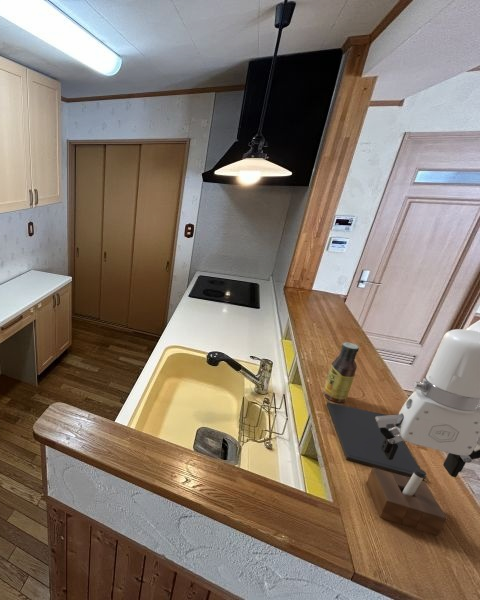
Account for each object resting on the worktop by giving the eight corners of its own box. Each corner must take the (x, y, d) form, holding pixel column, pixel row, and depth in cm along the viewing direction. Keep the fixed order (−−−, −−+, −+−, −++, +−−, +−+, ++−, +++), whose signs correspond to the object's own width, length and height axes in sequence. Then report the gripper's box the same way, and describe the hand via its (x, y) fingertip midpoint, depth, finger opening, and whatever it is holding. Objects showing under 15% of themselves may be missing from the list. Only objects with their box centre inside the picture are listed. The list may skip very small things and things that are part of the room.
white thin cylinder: (402, 506, 71) (424, 469, 67) (405, 512, 70) (427, 475, 66) (393, 502, 72) (414, 467, 68) (396, 508, 70) (417, 472, 66)
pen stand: (417, 497, 73) (425, 481, 71) (438, 536, 65) (447, 518, 63) (365, 483, 77) (372, 467, 75) (379, 517, 69) (386, 500, 67)
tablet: (386, 417, 97) (387, 414, 97) (424, 480, 77) (425, 477, 76) (326, 404, 103) (327, 401, 103) (346, 459, 83) (347, 456, 83)
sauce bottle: (321, 389, 110) (336, 337, 103) (344, 395, 107) (361, 342, 100) (323, 400, 105) (339, 346, 98) (347, 406, 102) (365, 351, 95)
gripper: (398, 393, 61) (370, 461, 67) (532, 420, 54) (487, 494, 60) (383, 372, 67) (359, 437, 73) (502, 394, 60) (464, 464, 66)
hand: (417, 462), depth 66 cm, fingers open, 9 cm apart
